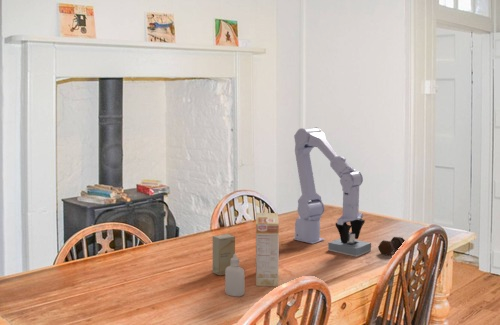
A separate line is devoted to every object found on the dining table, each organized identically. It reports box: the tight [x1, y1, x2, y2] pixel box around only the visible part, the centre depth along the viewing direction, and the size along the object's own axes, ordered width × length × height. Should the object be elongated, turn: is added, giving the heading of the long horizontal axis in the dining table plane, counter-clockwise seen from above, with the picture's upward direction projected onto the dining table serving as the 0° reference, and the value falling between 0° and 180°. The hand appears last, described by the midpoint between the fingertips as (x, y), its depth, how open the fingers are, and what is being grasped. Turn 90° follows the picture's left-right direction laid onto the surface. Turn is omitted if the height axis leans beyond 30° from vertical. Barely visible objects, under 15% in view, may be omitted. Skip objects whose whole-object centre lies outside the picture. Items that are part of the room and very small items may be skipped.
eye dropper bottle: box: [224, 253, 245, 298], centre depth 166 cm, size 4×6×12 cm
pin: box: [345, 231, 356, 245], centre depth 211 cm, size 4×4×6 cm
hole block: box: [327, 237, 372, 258], centre depth 211 cm, size 12×10×3 cm
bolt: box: [377, 236, 406, 256], centre depth 212 cm, size 6×5×15 cm
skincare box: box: [212, 233, 236, 276], centre depth 186 cm, size 6×4×12 cm
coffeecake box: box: [255, 212, 280, 287], centre depth 180 cm, size 15×7×20 cm, turn 178°
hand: (349, 240), depth 211 cm, fingers open, 7 cm apart
